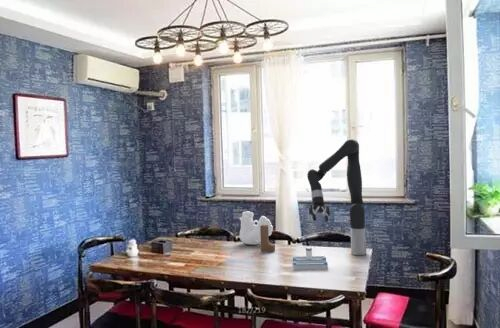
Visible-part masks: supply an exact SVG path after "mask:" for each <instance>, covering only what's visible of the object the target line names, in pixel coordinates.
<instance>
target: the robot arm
mask: <svg viewBox="0 0 500 328" xmlns="http://www.w3.org/2000/svg"><path fill="white" fill-rule="evenodd" d="M346 157H347V167H346V180H347V186H348V190H349V195H350V209H349V225H350V253H351V255H354V256H365V254H366V255H367V240H366V221H365V219H366V218H365V215H366V213H365V211H366V208H365V204H364V199H363V179H362V169H361V165H360V143H359V142H358V141H357V140H356V139H353V138H352V139H350V138H349V139H347V140H345V142H344V143H342V145H341V146H340V147H339V148H338V150H336V151H335V152H334V153H333V154H331V155H330V156H329V157H328V158H326V159H325V160H324V161H322V162H321V163H320V164H319V166H318V170H317V169H309V170H308V171H307V174H306V175H307V180H308V183H309V186H310V191H311V193H310V194H311V201H312V202H311V203H312V204H310V205H308V213H309V214H308V215H310V216H312V217H311V218H312V221H313V222H316V221H317V216H316V213H318V214H321V215H322V216H324V217H323V219H324V222H325V223H328V221H329V216H330V215H331V212H330V207H329V206H325V199H324V194H323V190H322V189H323V188H322V184H321V183H320V181H321V180H322V179H323V178H324V176H326V175H327V173H328V172H329V171H330V170H332V169H333V168H334V167H336V166H337V165H338V164H339V162H340V161H342V160H343V159H344V158H346Z"/></svg>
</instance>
